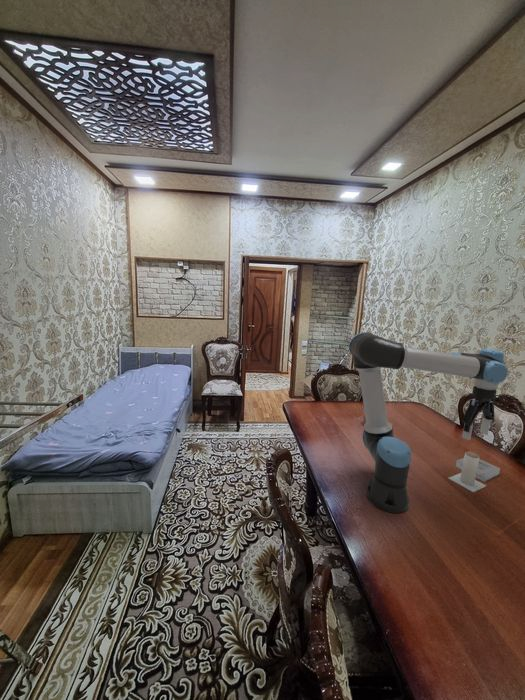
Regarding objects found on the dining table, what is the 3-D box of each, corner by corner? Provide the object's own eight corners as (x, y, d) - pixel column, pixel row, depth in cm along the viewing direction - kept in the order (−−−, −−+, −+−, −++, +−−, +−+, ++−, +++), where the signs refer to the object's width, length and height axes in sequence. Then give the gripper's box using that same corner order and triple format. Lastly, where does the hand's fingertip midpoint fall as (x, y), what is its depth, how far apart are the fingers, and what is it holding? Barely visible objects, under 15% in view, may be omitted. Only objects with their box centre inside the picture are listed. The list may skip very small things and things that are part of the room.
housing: (484, 481, 123) (486, 474, 122) (455, 467, 133) (456, 460, 133) (498, 475, 128) (500, 468, 128) (469, 461, 139) (471, 455, 138)
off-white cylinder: (470, 486, 119) (475, 458, 116) (457, 479, 123) (462, 452, 121) (476, 483, 121) (482, 455, 119) (463, 477, 125) (469, 450, 123)
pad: (473, 492, 115) (473, 491, 115) (448, 478, 124) (448, 477, 124) (486, 486, 120) (486, 485, 120) (461, 473, 129) (461, 472, 129)
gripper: (478, 393, 106) (468, 445, 109) (511, 387, 117) (500, 435, 121) (457, 387, 112) (448, 436, 116) (490, 382, 124) (480, 427, 127)
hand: (474, 436), depth 118 cm, fingers open, 13 cm apart
